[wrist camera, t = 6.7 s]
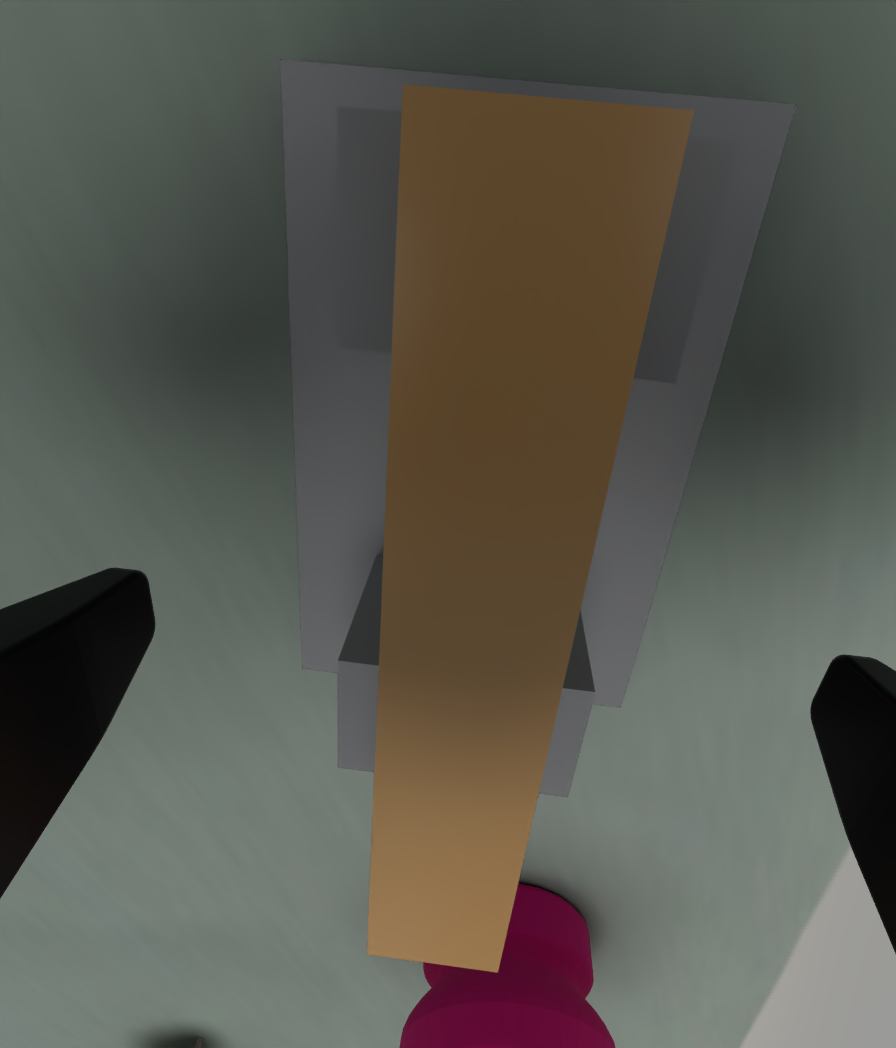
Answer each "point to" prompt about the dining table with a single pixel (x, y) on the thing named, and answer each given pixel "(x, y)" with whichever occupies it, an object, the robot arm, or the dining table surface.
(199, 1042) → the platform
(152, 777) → the dining table surface
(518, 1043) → the pepper mill
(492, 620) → the tan wooden bar
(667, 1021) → the dining table surface
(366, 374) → the display stand
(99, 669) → the robot arm
